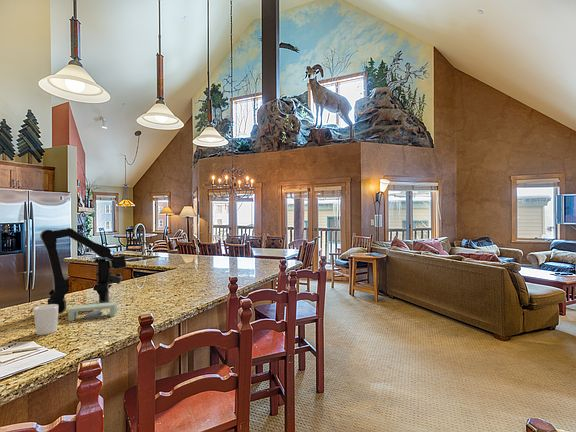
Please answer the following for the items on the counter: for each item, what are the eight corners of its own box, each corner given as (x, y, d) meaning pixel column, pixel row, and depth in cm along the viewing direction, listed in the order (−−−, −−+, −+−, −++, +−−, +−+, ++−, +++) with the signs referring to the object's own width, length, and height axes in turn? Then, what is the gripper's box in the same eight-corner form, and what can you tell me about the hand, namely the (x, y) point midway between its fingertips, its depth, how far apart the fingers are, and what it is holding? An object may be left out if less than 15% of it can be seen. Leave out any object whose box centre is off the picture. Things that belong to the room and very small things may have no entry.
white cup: (53, 327, 135) (52, 303, 135) (62, 330, 131) (62, 305, 131) (30, 333, 129) (29, 308, 129) (39, 337, 125) (39, 310, 125)
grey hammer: (91, 313, 153) (91, 301, 153) (100, 302, 173) (100, 291, 173) (101, 312, 155) (100, 300, 155) (109, 301, 175) (109, 290, 175)
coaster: (84, 320, 146) (84, 316, 146) (87, 316, 151) (87, 312, 151) (99, 318, 147) (99, 315, 147) (102, 315, 153) (102, 311, 153)
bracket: (68, 320, 144) (68, 309, 144) (72, 316, 149) (72, 305, 149) (114, 316, 149) (114, 305, 149) (116, 312, 155) (116, 301, 155)
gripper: (118, 272, 166) (118, 303, 166) (123, 266, 183) (124, 294, 183) (92, 273, 162) (93, 305, 162) (100, 268, 180) (101, 296, 180)
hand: (104, 300), depth 172 cm, fingers closed on grey hammer, 4 cm apart
